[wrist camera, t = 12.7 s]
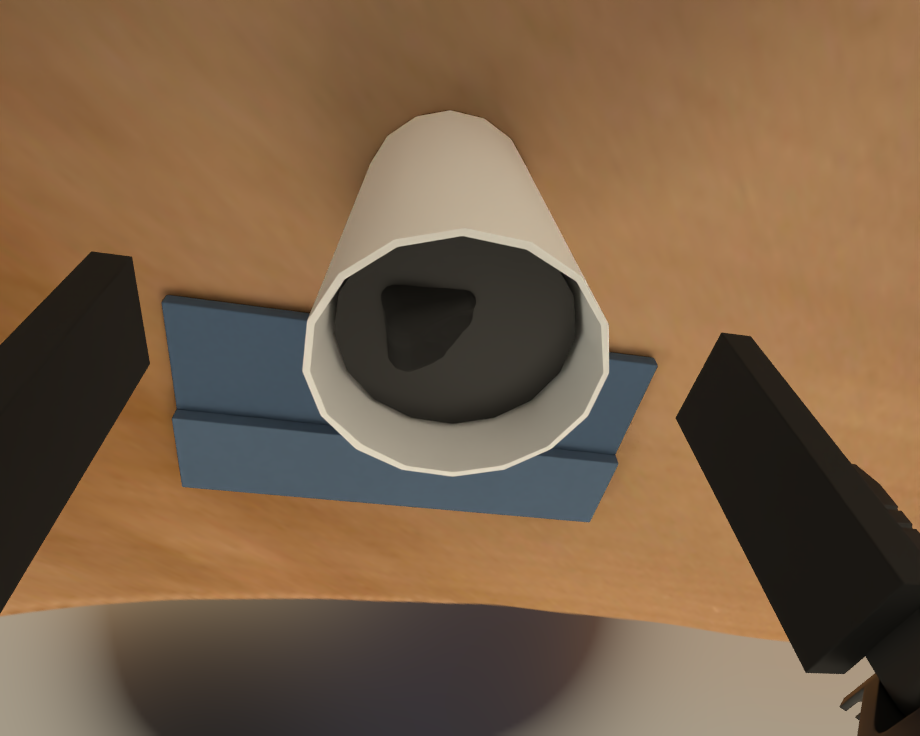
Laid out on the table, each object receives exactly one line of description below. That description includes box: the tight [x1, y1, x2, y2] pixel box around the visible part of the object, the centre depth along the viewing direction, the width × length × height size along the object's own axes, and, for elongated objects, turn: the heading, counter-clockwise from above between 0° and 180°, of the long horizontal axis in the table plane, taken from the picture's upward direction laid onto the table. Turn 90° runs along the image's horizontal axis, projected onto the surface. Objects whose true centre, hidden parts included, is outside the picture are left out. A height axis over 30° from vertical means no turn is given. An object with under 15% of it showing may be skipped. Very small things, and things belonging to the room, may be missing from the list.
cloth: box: [162, 295, 658, 522], centre depth 26 cm, size 20×10×1 cm, turn 80°
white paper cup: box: [302, 110, 609, 477], centre depth 17 cm, size 7×7×10 cm
